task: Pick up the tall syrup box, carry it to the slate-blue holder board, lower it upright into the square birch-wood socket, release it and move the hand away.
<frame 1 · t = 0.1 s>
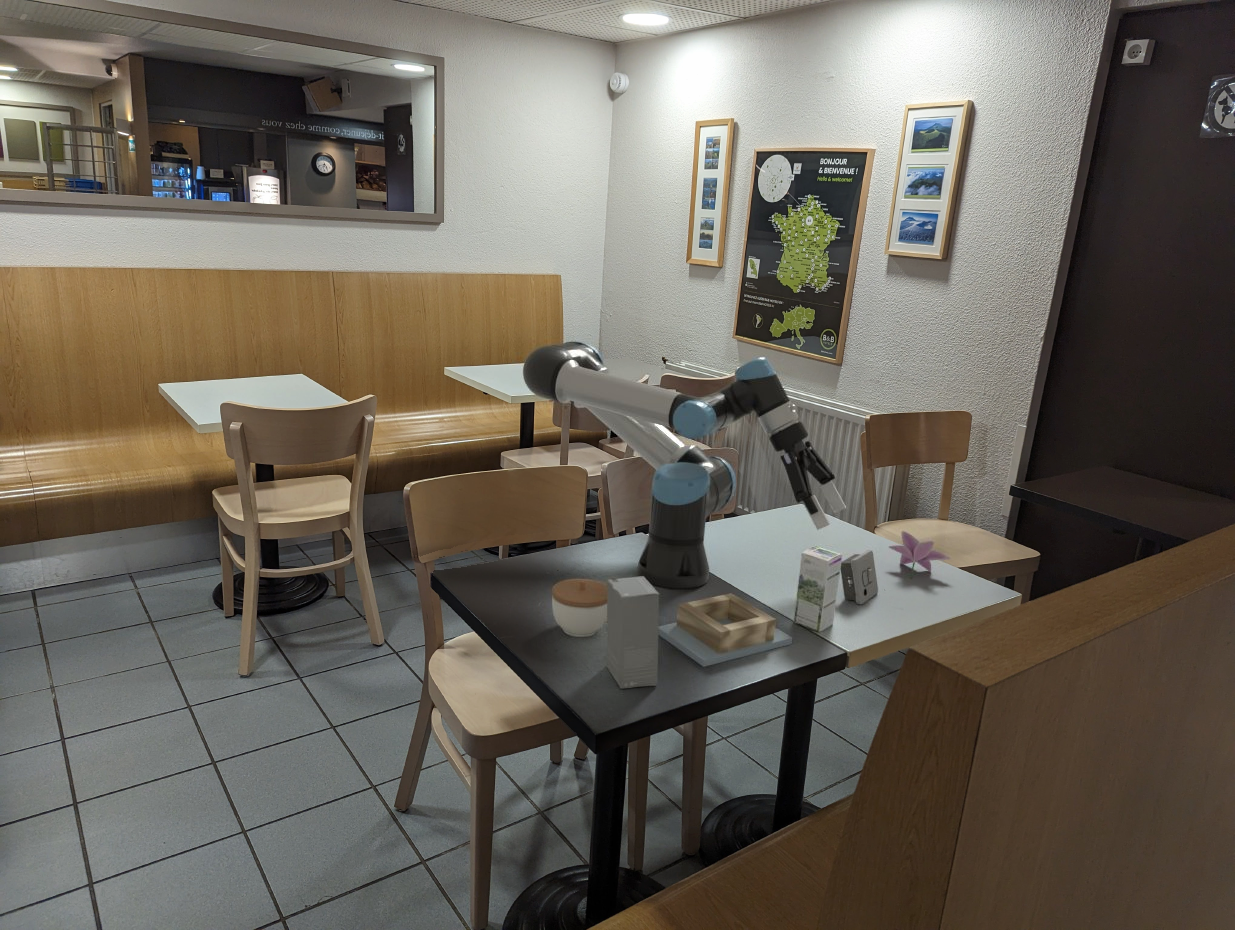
hand: (832, 518, 177), 15 cm above the table, tool tilted 35°, fingers open, 13 cm apart
syrup box: (812, 624, 163), on the table
socket holder: (723, 638, 155), on the table
skincare box: (628, 676, 139), on the table
electrical switch: (856, 597, 178), on the table
lidded jar: (579, 630, 154), on the table
lily: (914, 573, 193), on the table
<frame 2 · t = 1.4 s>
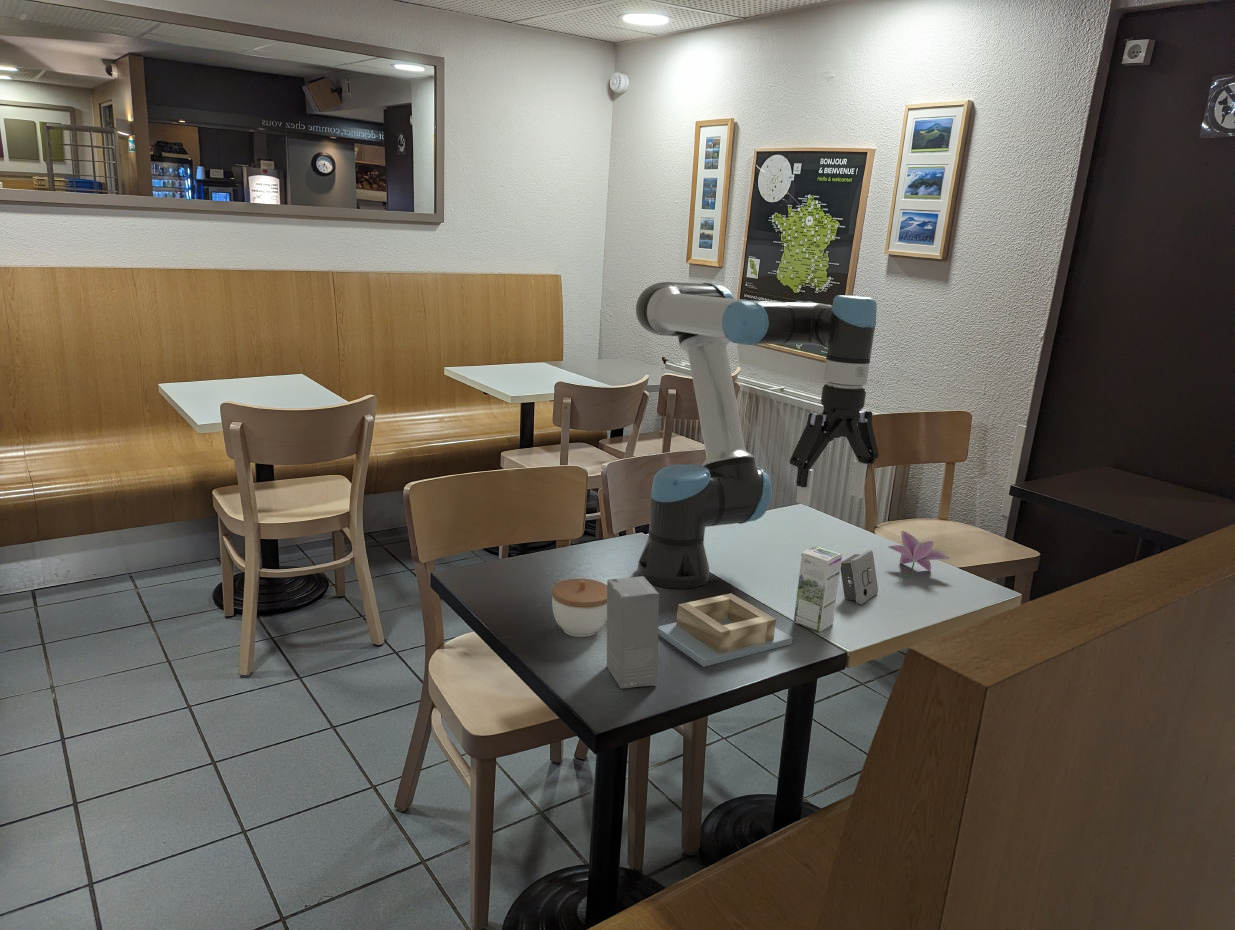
hand: (829, 500, 157), 25 cm above the table, tool pointing down, fingers open, 13 cm apart
nothing on the table moved.
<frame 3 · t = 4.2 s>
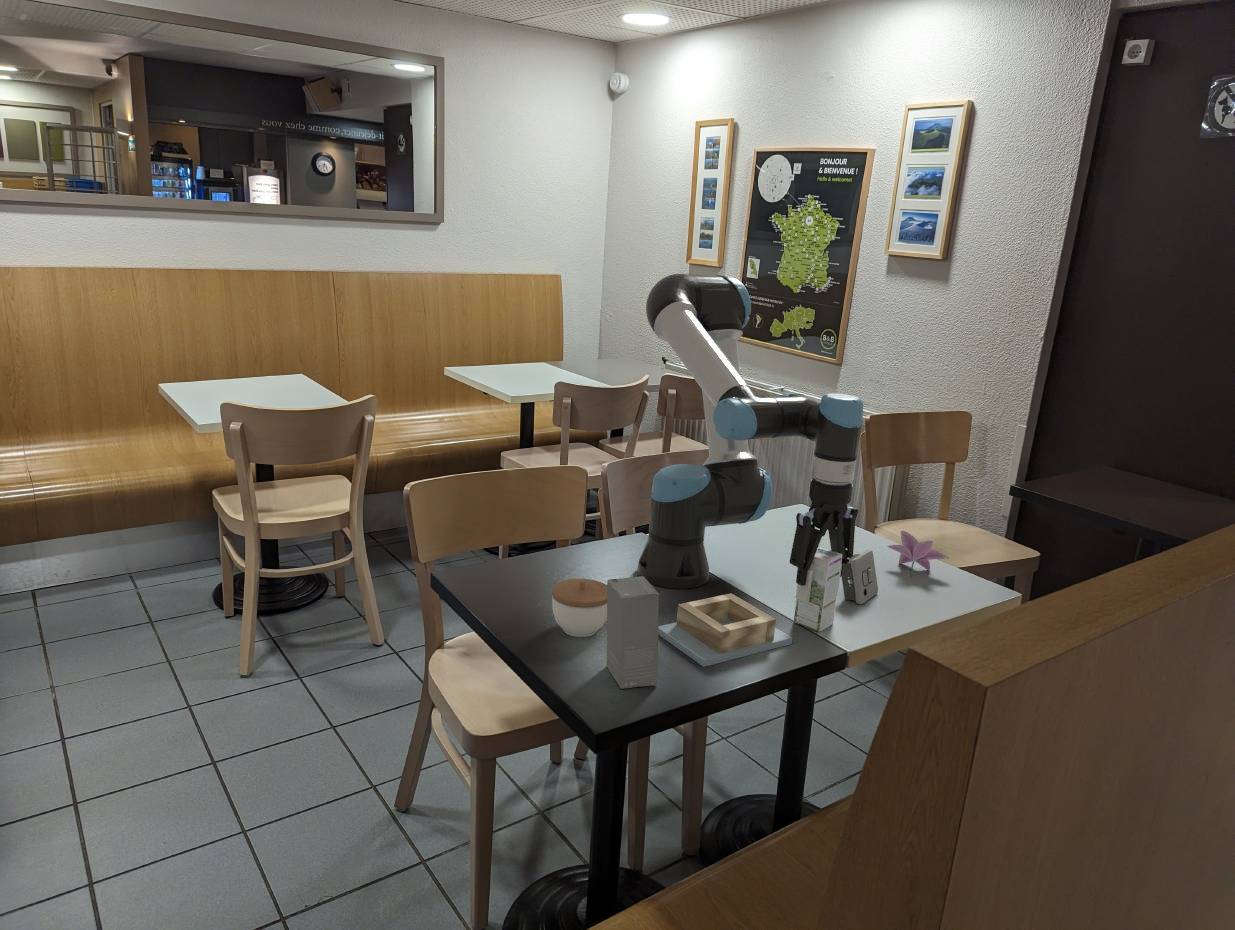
hand: (816, 596, 162), 6 cm above the table, tool pointing down, fingers closed on syrup box, 7 cm apart
syrup box: (813, 624, 163), on the table, touching gripper
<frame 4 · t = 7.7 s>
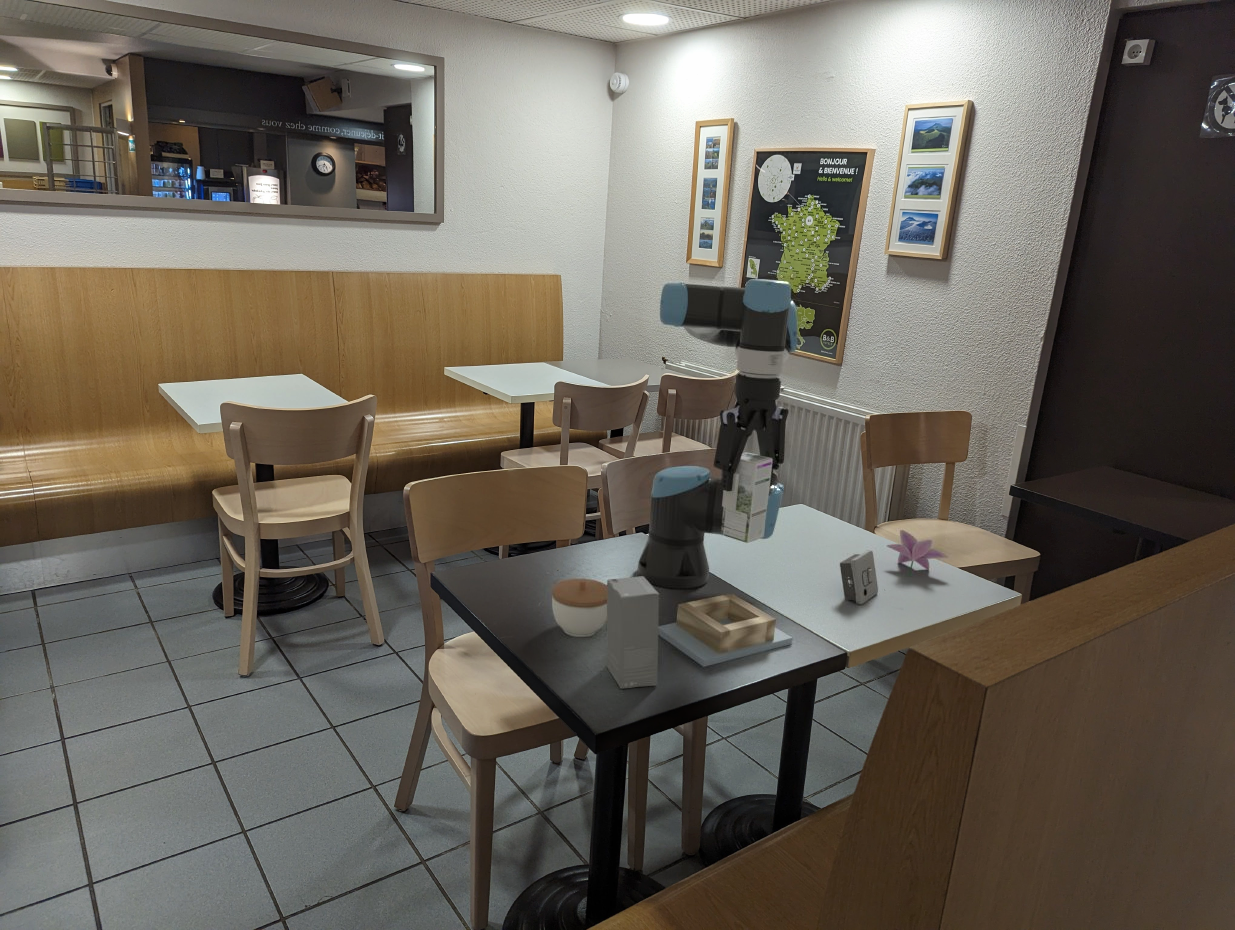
hand: (744, 505, 149), 25 cm above the table, tool pointing down, fingers closed on syrup box, 7 cm apart
syrup box: (741, 537, 150), point 19 cm above the table, touching gripper
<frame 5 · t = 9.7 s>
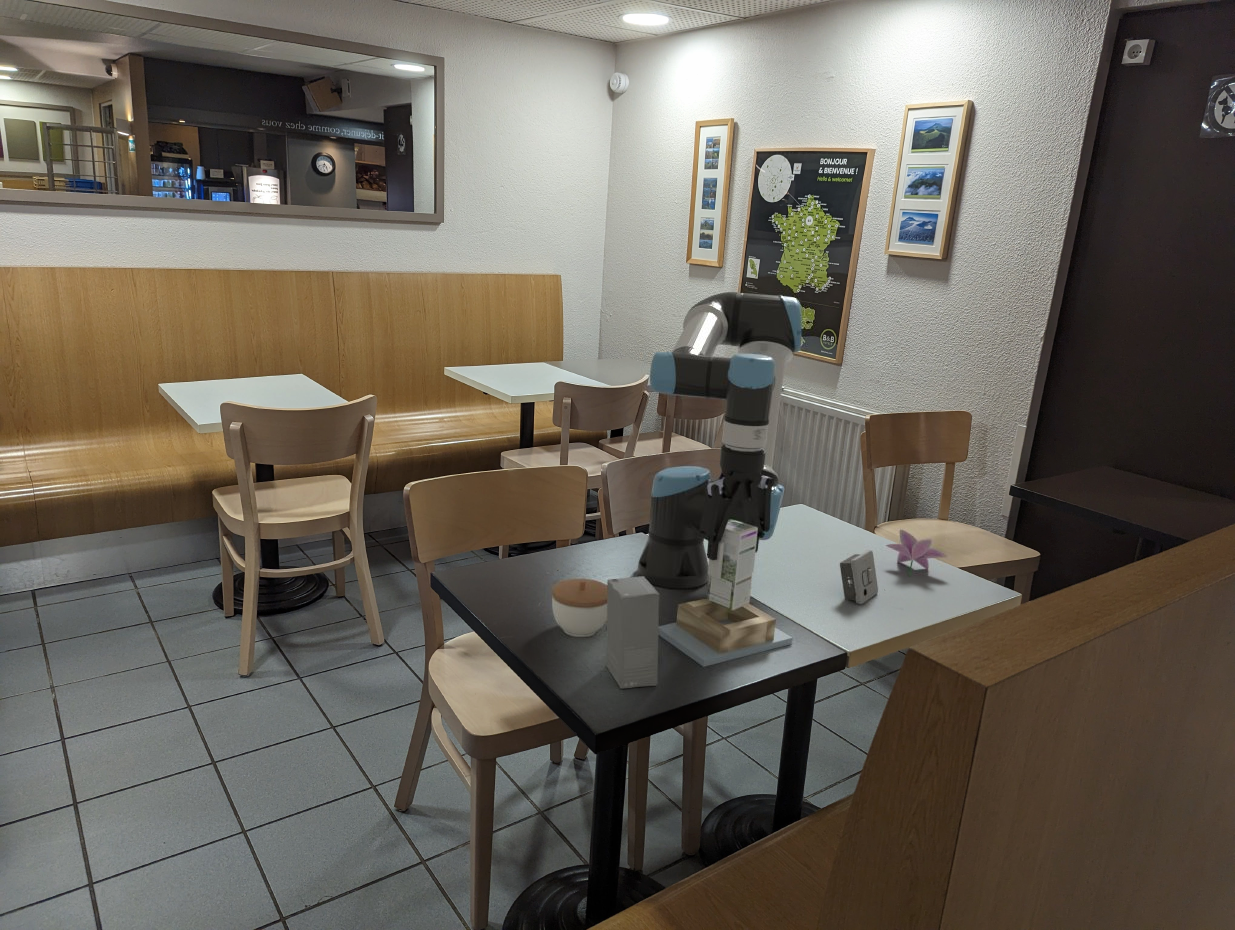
hand: (730, 572, 151), 13 cm above the table, tool pointing down, fingers closed on syrup box, 7 cm apart
syrup box: (727, 603, 153), point 7 cm above the table, touching gripper
when the fingers open (8 cm above the table, at t = 11.4 s): syrup box drops 1 cm, resting on socket holder.
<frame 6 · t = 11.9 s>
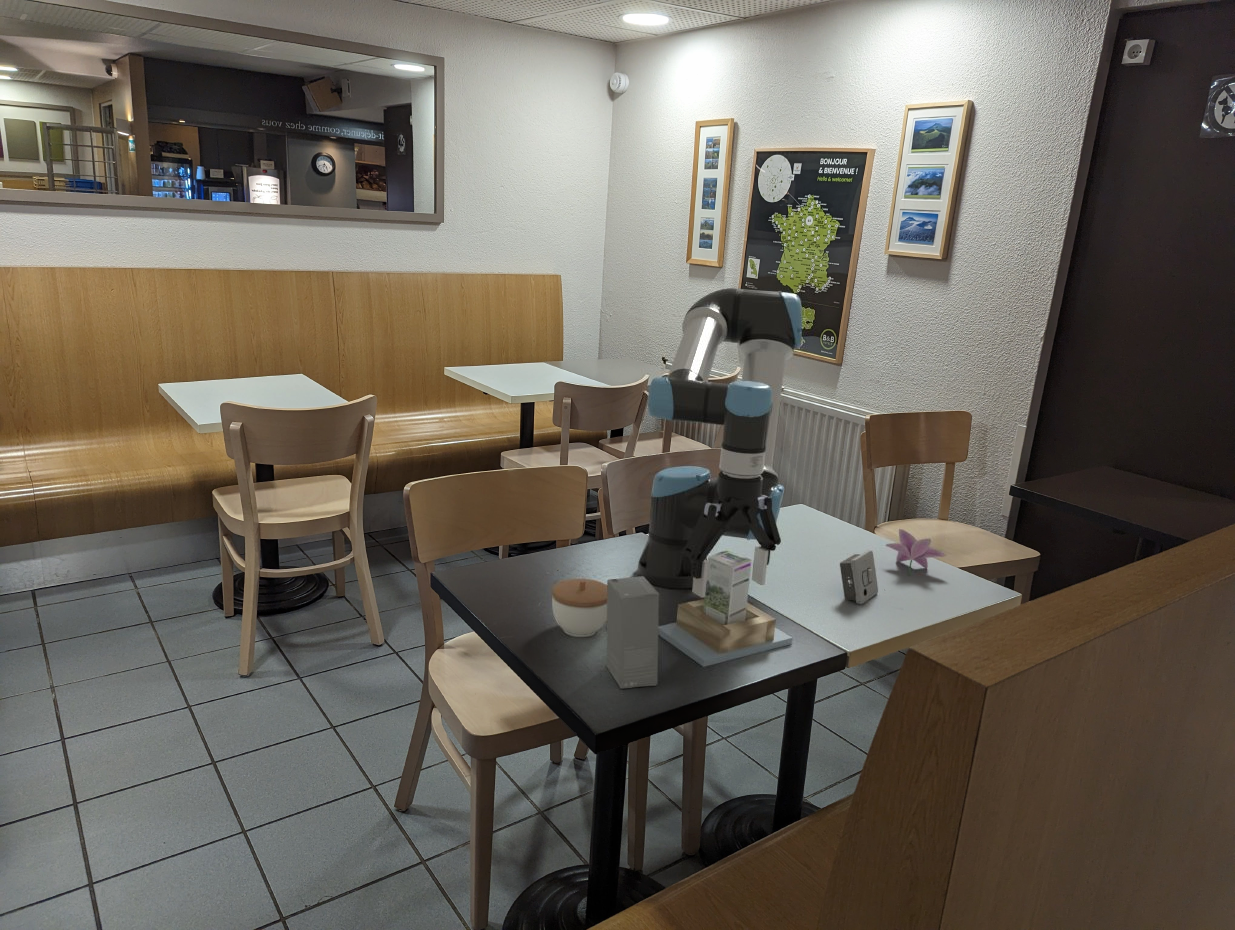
hand: (728, 588, 152), 10 cm above the table, tool pointing down, fingers open, 13 cm apart
syrup box: (722, 633, 154), point 1 cm above the table, touching socket holder
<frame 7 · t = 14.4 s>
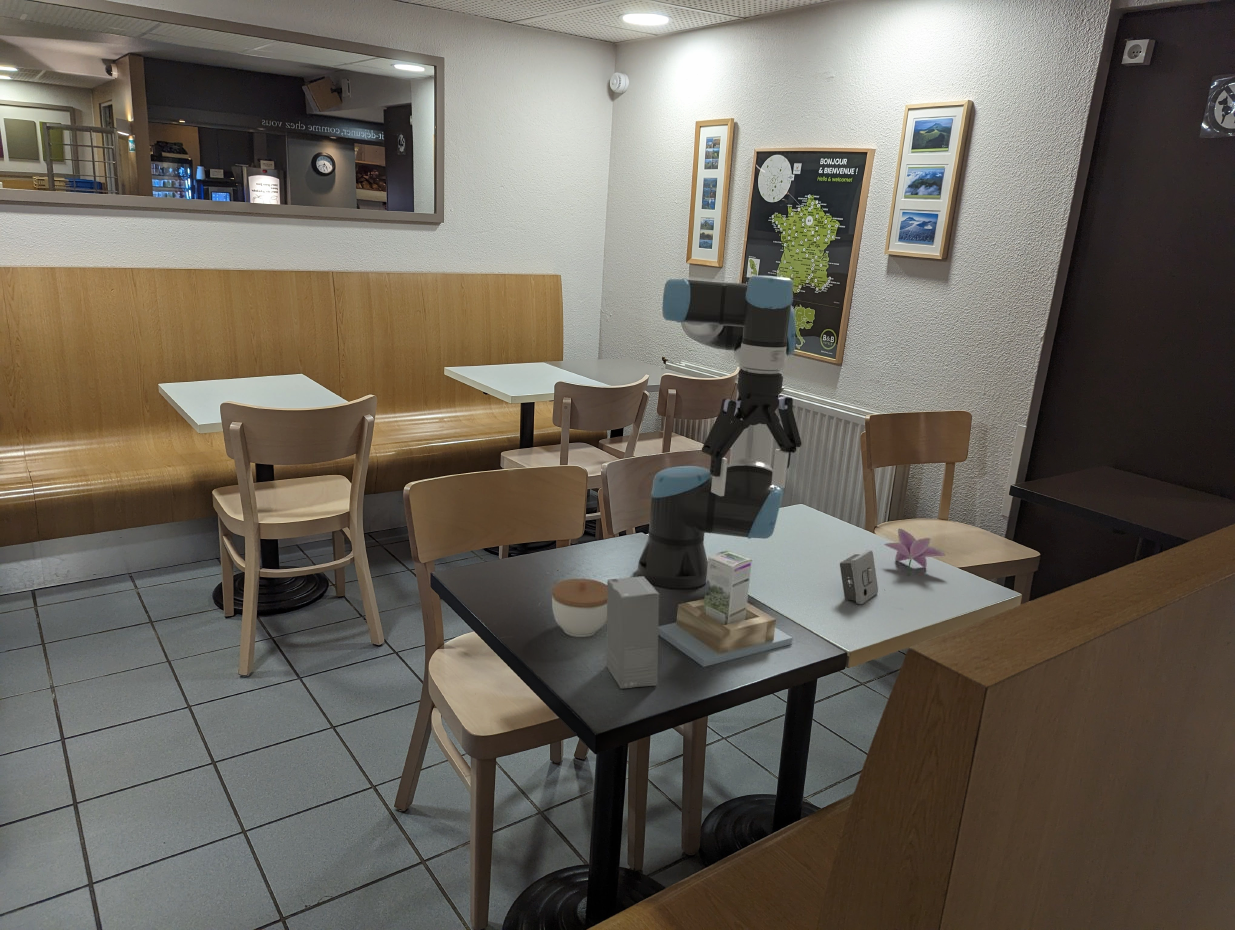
hand: (748, 490, 150), 27 cm above the table, tool pointing down, fingers open, 13 cm apart
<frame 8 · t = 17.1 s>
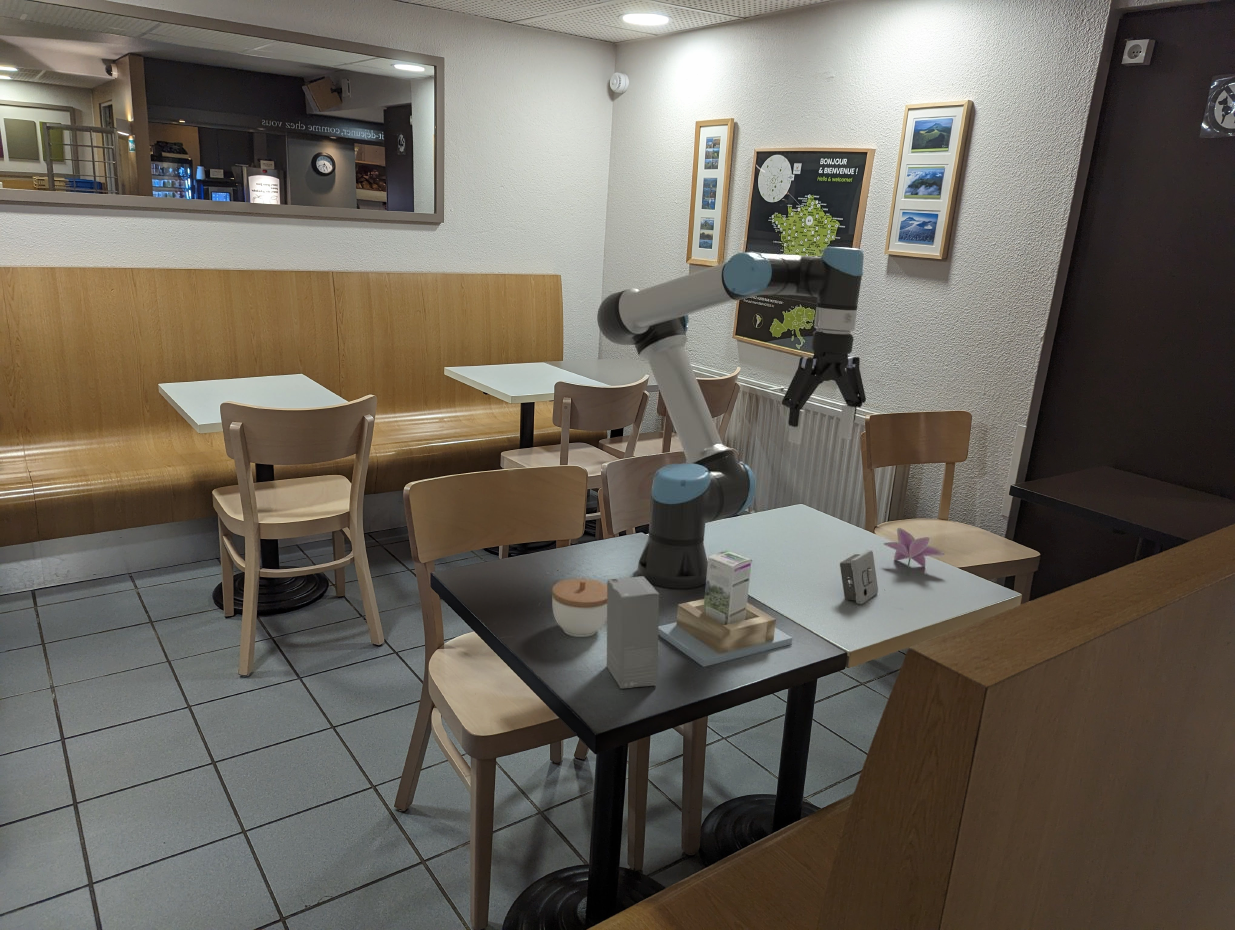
hand: (819, 440, 168), 33 cm above the table, tool pointing down, fingers open, 13 cm apart
at the end: syrup box 0.4 cm off-centre on the socket holder, point 1.0 cm above the socket holder's base; syrup box tilted 0°; the gripper is holding nothing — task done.
